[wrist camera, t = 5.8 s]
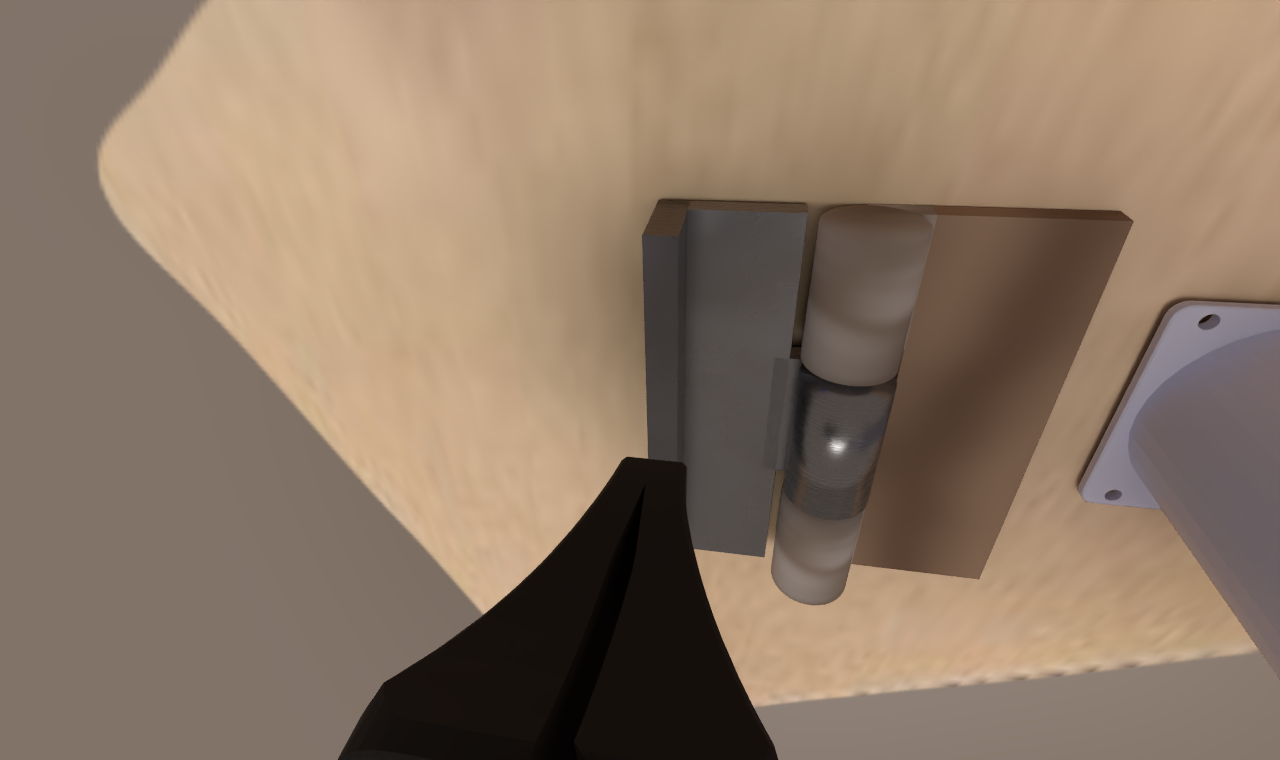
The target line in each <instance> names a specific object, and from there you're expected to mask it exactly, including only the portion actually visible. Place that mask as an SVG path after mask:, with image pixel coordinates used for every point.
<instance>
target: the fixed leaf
mask: <svg viewBox="0 0 1280 760" xmlns="http://www.w3.org/2000/svg"><path fill="white" fill-rule="evenodd" d="M1133 222H1134V221H1133V220H1131V219H1130V218H1129V217H1127V216H1126V215H1125V214H1123V213H1122V212H1121V211H1096V210H1062V209H1028V208H994V207H959V206H925V205H891V204H868V205H850V206H842V207H837V208H833V209H831V210H828V211H826V212H824V213H823V214H822V215H821V216H820V218H819V225H818V232H817V239H816V246H815V254H814V261H813V268H812V275H811V283H810V290H809V297H808V304H807V312H806V319H805V326H804V333H803V341H802V348H801V360H802V362H803V364H804V366H805V367H806V368H807V369H808V370H809V371H811V372H812V373H813V374H815V375H817V376H818V377H820V378H823V379H825V380H827V381H830V382H833V383H837V384H842V385H847V386H873V385H878V384H882V383H885V382H887V381H889V380H891V379H892V378H893V377H894V376H895V377H896V379H897V388H896V392H895V396H894V400H893V404H892V408H891V412H890V416H889V420H888V424H887V428H886V432H885V436H884V440H883V444H882V448H881V452H880V456H879V460H878V464H877V468H876V472H875V476H874V480H873V484H872V488H871V492H870V496H869V500H868V503H867V506H866V507H865V509H864V510H863V511H862V512H861V513H860V514H858V515H856V516H854V517H852V518H849V519H844V520H826V519H821V518H817V517H814V516H811V515H809V514H807V513H805V512H803V511H801V510H800V509H798V508H797V507H796V506H795V505H794V504H792V502H791V501H790V500H789V499H788V497H787V495H786V493H785V490H784V484H783V487H782V493H781V500H780V507H779V515H778V522H777V529H776V536H775V544H774V551H773V558H772V565H771V574H772V578H773V580H774V582H775V584H776V585H777V587H778V588H779V589H780V590H781V591H782V592H783V593H784V594H785V595H786V596H788V597H789V598H791V599H793V600H795V601H797V602H800V603H803V604H808V605H823V604H827V603H830V602H833V601H834V600H836V599H837V598H838V597H839V596H840V595H841V594H842V593H843V591H844V588H845V585H846V581H847V577H848V573H849V569H850V565H851V564H856V565H864V566H873V567H881V568H890V569H898V570H906V571H915V572H923V573H931V574H940V575H948V576H957V577H965V578H973V579H979V578H980V576H981V574H982V571H983V569H984V567H985V564H986V562H987V560H988V557H989V555H990V553H991V550H992V548H993V546H994V543H995V541H996V539H997V537H998V534H999V532H1000V530H1001V527H1002V525H1003V523H1004V520H1005V518H1006V516H1007V513H1008V511H1009V509H1010V506H1011V504H1012V502H1013V499H1014V497H1015V495H1016V493H1017V490H1018V488H1019V486H1020V483H1021V481H1022V479H1023V476H1024V474H1025V472H1026V469H1027V467H1028V465H1029V462H1030V460H1031V458H1032V455H1033V453H1034V451H1035V449H1036V446H1037V444H1038V442H1039V439H1040V437H1041V435H1042V432H1043V430H1044V428H1045V425H1046V423H1047V421H1048V418H1049V416H1050V414H1051V411H1052V409H1053V407H1054V405H1055V402H1056V400H1057V398H1058V395H1059V393H1060V391H1061V388H1062V386H1063V384H1064V381H1065V379H1066V377H1067V374H1068V372H1069V370H1070V367H1071V365H1072V363H1073V361H1074V358H1075V356H1076V354H1077V351H1078V349H1079V347H1080V344H1081V342H1082V340H1083V337H1084V335H1085V333H1086V330H1087V328H1088V326H1089V323H1090V321H1091V319H1092V317H1093V314H1094V312H1095V310H1096V307H1097V305H1098V303H1099V300H1100V298H1101V296H1102V293H1103V291H1104V289H1105V286H1106V284H1107V282H1108V279H1109V277H1110V275H1111V273H1112V270H1113V268H1114V266H1115V263H1116V261H1117V259H1118V256H1119V254H1120V252H1121V249H1122V247H1123V245H1124V242H1125V240H1126V238H1127V235H1128V233H1129V231H1130V229H1131V226H1132V224H1133Z"/></svg>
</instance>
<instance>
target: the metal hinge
mask: <svg viewBox="0 0 1280 760" xmlns="http://www.w3.org/2000/svg"><path fill="white" fill-rule="evenodd" d="M807 217H808V210H807V204H783V203H749V202H716V201H682V200H659V201H658V203H657V205H656V207H655V209H654V211H653V213H652V216H651V218H650V220H649V222H648V224H647V226H646V228H645V230H644V233H643V235H642V245H643V282H644V318H645V354H646V391H647V427H648V459H655V460H665V461H675V462H682V463H683V464H684V465H685V466H687V493H686V509H687V516H688V523H689V528H690V533H691V539H692V544H693V548H694V549H700V550H709V551H717V552H725V553H733V554H742V555H750V556H758V557H764V556H765V548H766V540H767V533H768V525H769V517H770V509H771V501H772V493H773V485H774V477H775V470H782V471H785V478H784V490H785V493H786V495H787V497H788V499H789V500H790V501H791V502H792V504H794V505H795V506H796V507H797V508H798V509H800V510H801V511H803V512H805V513H807V514H809V515H811V516H814V517H817V518H821V519H826V520H844V519H849V518H852V517H854V516H856V515H858V514H860V513H861V512H862V511H863V510H864V509H865V507H866V506H867V503H868V500H869V496H870V492H871V488H872V484H873V480H874V476H875V472H876V468H877V464H878V460H879V456H880V452H881V448H882V444H883V440H884V436H885V432H886V428H887V424H888V420H889V416H890V412H891V408H892V404H893V400H894V396H895V392H896V388H897V379H896V377H895V376H894V377H893V378H892V379H891V380H889V381H887V382H885V383H882V384H878V385H873V386H847V385H842V384H837V383H833V382H830V381H827V380H825V379H823V378H820V377H818V376H817V375H815V374H813V373H812V372H811V371H809V370H808V369H807V368H806V367H805V366H804V364H803V362H802V360H801V348H802V347H791V343H792V335H793V327H794V319H795V312H796V304H797V296H798V288H799V280H800V272H801V264H802V256H803V248H804V241H805V233H806V225H807Z"/></svg>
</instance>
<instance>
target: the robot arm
mask: <svg viewBox="0 0 1280 760" xmlns="http://www.w3.org/2000/svg"><path fill="white" fill-rule="evenodd" d="M1211 314H1212V317H1211V318H1210V319H1209V320H1208V321H1206V322H1204V323H1199V321H1200V320H1201V319H1202V318H1203V317H1205V316H1207V315H1211ZM1111 490H1114V491H1112V492H1110V493H1107V492H1108V491H1111ZM1078 491H1079V493H1080V495H1081V497H1082V499H1084V500H1085V501H1087V502H1091V503H1099V504H1109V505H1119V506H1129V507H1140V508H1150V509H1160V510H1162V511H1163V512H1164V514H1165V515H1166V517H1167V518H1168V519H1169V521H1170V522H1171V524H1172V525H1173V527H1174V528H1175V530H1176V531H1177V532H1178V534H1179V535H1180V537H1181V538H1182V540H1183V541H1184V542H1185V544H1186V545H1187V547H1188V548H1189V550H1190V551H1191V553H1192V554H1193V555H1194V557H1195V558H1196V560H1197V561H1198V563H1199V564H1200V566H1201V567H1202V568H1203V570H1204V571H1205V573H1206V574H1207V576H1208V577H1209V579H1210V580H1211V581H1212V583H1213V584H1214V586H1215V587H1216V589H1217V590H1218V591H1219V593H1220V594H1221V596H1222V597H1223V599H1224V600H1225V602H1226V603H1227V604H1228V606H1229V607H1230V609H1231V610H1232V612H1233V613H1234V615H1235V616H1236V617H1237V619H1238V620H1239V622H1240V623H1241V625H1242V626H1243V627H1244V629H1245V630H1246V632H1247V633H1248V635H1249V636H1250V638H1251V639H1252V640H1253V642H1254V643H1255V645H1256V646H1257V648H1258V649H1259V651H1260V652H1261V653H1262V655H1263V656H1264V658H1265V659H1266V661H1267V662H1268V663H1269V665H1270V666H1271V668H1272V669H1273V671H1274V672H1275V674H1276V675H1277V676H1278V678H1279V679H1280V305H1273V304H1253V303H1232V302H1212V301H1192V300H1191V301H1183V302H1180V303H1178V304H1175V305H1174V306H1173V307H1171V308H1170V309H1169V310H1168V311H1167V312H1166V314H1165V315H1164V317H1163V319H1162V321H1161V323H1160V325H1159V327H1158V329H1157V331H1156V333H1155V335H1154V337H1153V339H1152V341H1151V343H1150V345H1149V347H1148V349H1147V351H1146V353H1145V355H1144V357H1143V359H1142V361H1141V363H1140V365H1139V367H1138V369H1137V371H1136V373H1135V375H1134V377H1133V379H1132V381H1131V383H1130V385H1129V387H1128V389H1127V391H1126V392H1125V394H1124V396H1123V398H1122V400H1121V402H1120V404H1119V406H1118V408H1117V410H1116V412H1115V414H1114V416H1113V418H1112V420H1111V422H1110V424H1109V426H1108V428H1107V430H1106V432H1105V434H1104V436H1103V438H1102V440H1101V442H1100V444H1099V446H1098V448H1097V450H1096V452H1095V454H1094V456H1093V458H1092V460H1091V462H1090V464H1089V466H1088V468H1087V470H1086V472H1085V474H1084V476H1083V478H1082V480H1081V482H1080V484H1079V486H1078ZM686 493H687V466H685V465H684V464H683V463H682V462H675V461H665V460H655V459H644V458H634V457H626V458H624V459H623V460H622V461H621V463H620V464H619V466H618V468H617V469H616V471H615V472H614V474H613V475H612V477H611V478H610V480H609V481H608V483H607V484H606V486H605V487H604V489H603V490H602V491H601V493H600V494H599V495H598V497H597V498H596V500H595V501H594V502H593V503H592V505H591V506H590V507H589V509H588V510H587V511H586V512H585V514H584V515H583V516H582V517H581V519H580V520H579V521H578V523H577V524H576V525H575V526H574V527H573V529H572V530H571V531H570V532H569V533H568V534H567V535H566V536H565V538H564V539H563V540H562V541H561V542H560V543H559V544H558V546H557V547H556V548H555V549H554V550H553V551H552V552H551V553H550V554H549V555H548V557H547V558H546V559H545V560H544V561H543V562H542V563H541V564H540V565H539V566H538V567H537V568H536V569H535V570H534V571H533V572H532V573H531V574H530V575H529V576H527V577H526V578H525V579H524V580H523V581H522V582H521V583H520V584H519V585H518V586H517V587H516V588H515V589H513V590H512V591H511V592H510V593H509V594H508V595H507V596H505V597H504V598H503V599H502V600H501V601H500V602H498V603H497V604H496V605H495V606H494V607H493V608H491V609H490V610H489V611H488V612H487V613H485V614H484V615H483V616H482V617H480V618H479V619H478V620H476V621H475V622H474V623H472V624H471V625H470V626H468V627H467V628H465V630H463V631H461V632H460V633H459V634H457V635H456V636H455V637H453V638H452V639H451V640H449V641H448V642H446V643H445V644H444V645H442V646H441V647H439V648H438V649H437V650H435V651H433V652H432V653H430V654H429V655H427V656H426V657H424V658H423V659H421V660H419V661H418V662H416V663H415V664H413V665H411V666H410V667H408V668H407V669H405V670H404V671H402V672H401V673H399V674H397V675H396V676H394V677H393V678H391V679H389V680H387V681H386V682H384V683H383V684H382V686H381V687H380V689H379V690H378V692H377V693H376V695H375V696H374V698H373V699H372V701H371V702H370V703H369V705H368V707H367V708H366V710H365V711H364V713H363V714H362V716H361V718H360V719H359V721H358V723H357V725H356V727H355V729H354V730H353V732H352V734H351V736H350V738H349V740H348V742H347V743H346V745H345V747H344V749H343V751H342V753H341V755H340V756H339V758H338V760H778V758H777V754H776V751H775V747H774V744H773V742H772V740H771V739H770V737H769V735H768V733H767V732H766V730H765V728H764V726H763V724H762V722H761V720H760V719H759V717H758V715H757V713H756V711H755V709H754V707H753V705H752V703H751V701H750V699H749V697H748V695H747V693H746V691H745V689H744V687H743V685H742V683H741V681H740V679H739V677H738V674H737V672H736V670H735V667H734V665H733V663H732V660H731V658H730V656H729V653H728V651H727V649H726V647H725V644H724V642H723V640H722V637H721V635H720V632H719V629H718V627H717V624H716V621H715V619H714V616H713V613H712V610H711V607H710V604H709V601H708V599H707V596H706V592H705V589H704V586H703V583H702V579H701V576H700V572H699V568H698V564H697V561H696V557H695V553H694V548H693V544H692V539H691V533H690V528H689V523H688V516H687V509H686Z"/></svg>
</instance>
